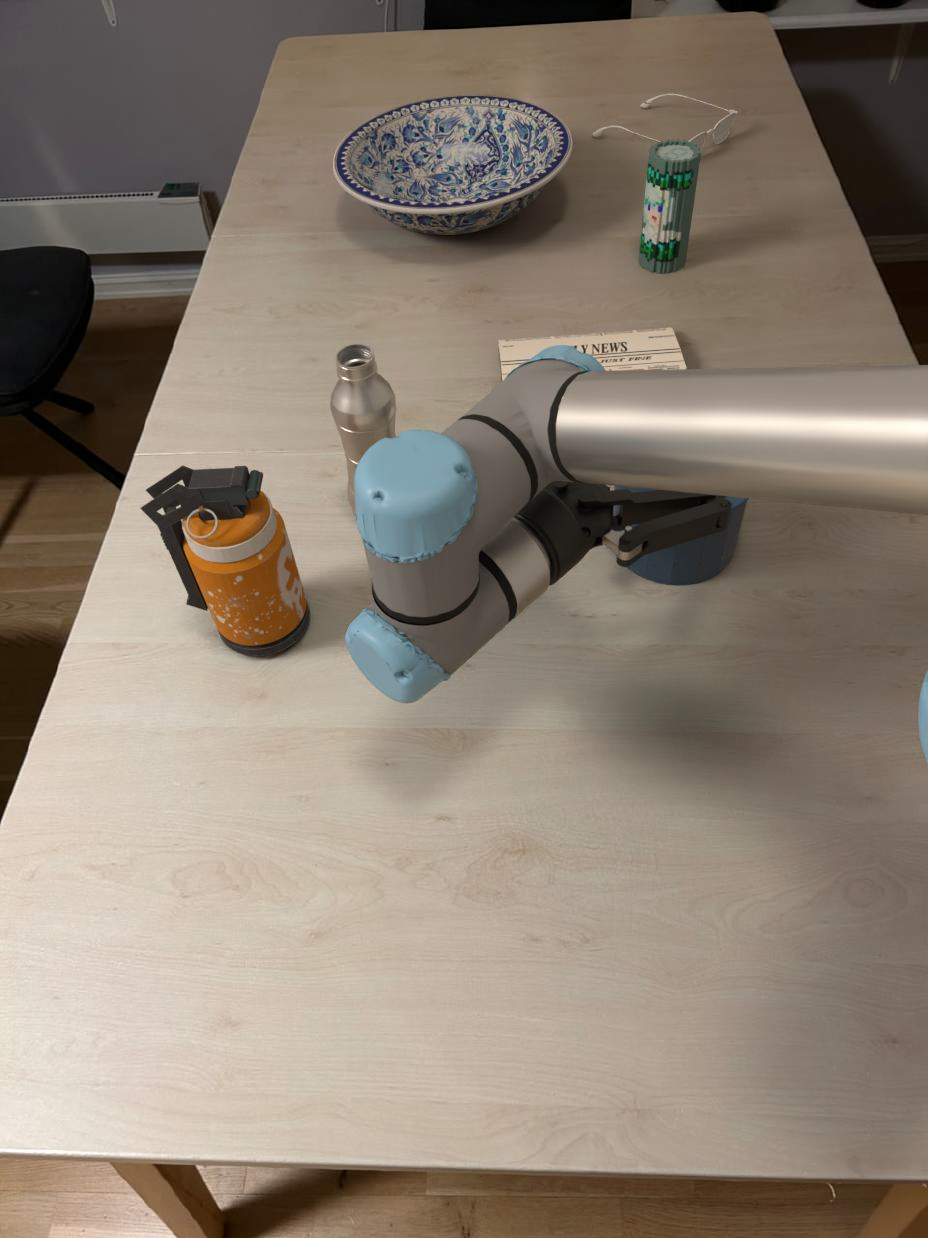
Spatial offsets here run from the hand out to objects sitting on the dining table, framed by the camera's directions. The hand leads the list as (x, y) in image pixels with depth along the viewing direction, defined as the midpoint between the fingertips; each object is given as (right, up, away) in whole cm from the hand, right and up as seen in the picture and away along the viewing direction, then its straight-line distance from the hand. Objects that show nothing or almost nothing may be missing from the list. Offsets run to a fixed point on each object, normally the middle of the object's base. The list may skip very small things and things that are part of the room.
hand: (681, 415), depth 82 cm
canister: (-40, -18, +11) cm, 45 cm away
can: (+8, +32, +47) cm, 58 cm away
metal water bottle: (-28, -6, +20) cm, 35 cm away
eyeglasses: (+13, +61, +70) cm, 94 cm away
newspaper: (-3, +13, +33) cm, 36 cm away
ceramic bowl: (-20, +43, +59) cm, 76 cm away
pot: (+3, -10, +15) cm, 18 cm away
